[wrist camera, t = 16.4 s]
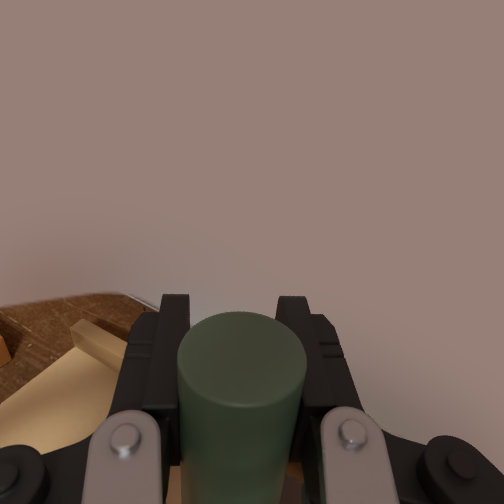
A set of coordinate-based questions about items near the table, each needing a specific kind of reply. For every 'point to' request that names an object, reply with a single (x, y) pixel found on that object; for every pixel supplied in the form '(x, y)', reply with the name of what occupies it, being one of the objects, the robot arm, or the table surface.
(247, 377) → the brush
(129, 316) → the table surface
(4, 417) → the tray
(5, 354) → the brown block
